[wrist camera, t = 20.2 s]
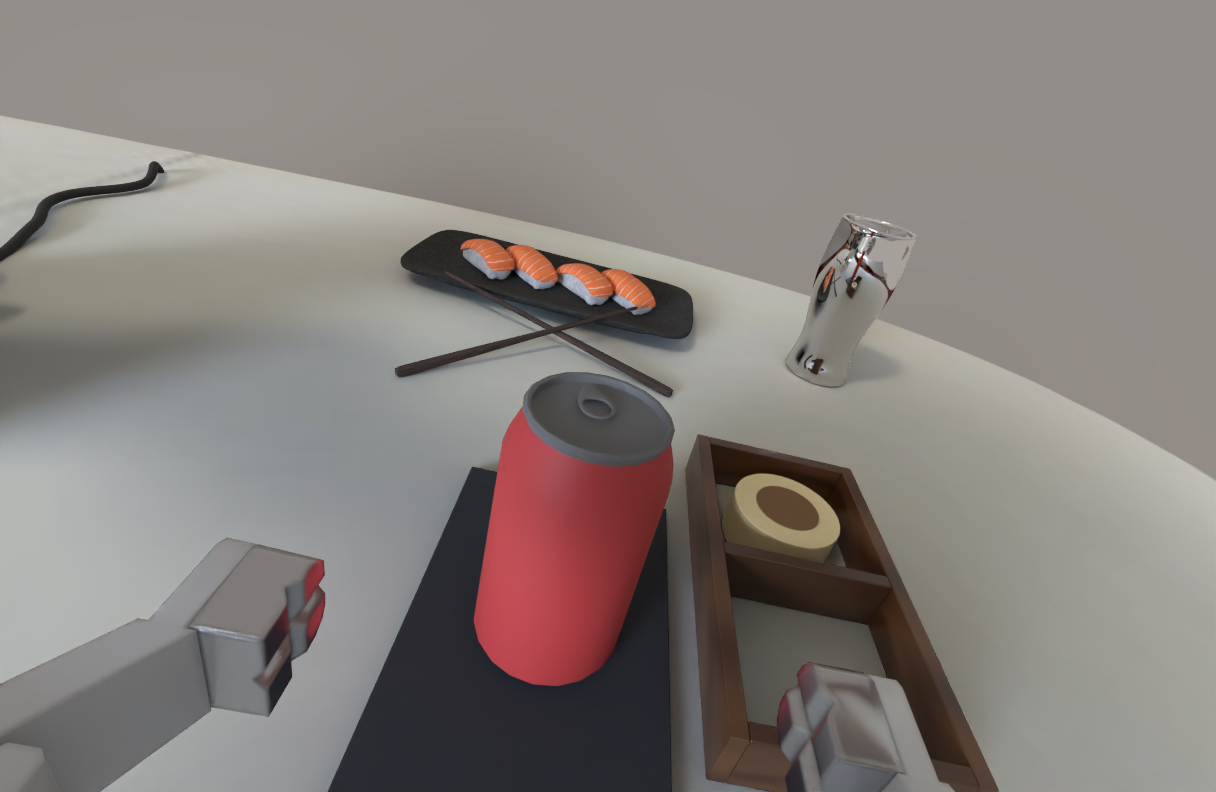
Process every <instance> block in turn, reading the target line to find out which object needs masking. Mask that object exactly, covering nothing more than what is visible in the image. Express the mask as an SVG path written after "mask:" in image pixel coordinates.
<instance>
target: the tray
mask: <svg viewBox="0 0 1216 792" xmlns="http://www.w3.org/2000/svg"><path fill="white" fill-rule="evenodd" d="M685 471H686V486H687V500H688V515H689V530H690V545H691V559H692V574H693V589H694V603H695V618H696V633H697V648H698V662H699V677H700V692H701V706H702V721H703V736H704V751H705V765H706V778H707V779H709V780H714V781H719V782H727V783H730V784H735V785H740V786H745V787H750V788H755V789H760V790H765V791H770V792H788V791H787V786H786V780H785V775H786V773H787V771H788V769H789V768H790V766H791V763H790V761H789V760H788V759H787V757H786V756H785V755H784V753H783V752H782V750H781V749H780V746H779V740H778V733H777V727H772V726H767V725H762V724H757V723H752V722H747V715H746V707H745V700H744V692H743V685H742V678H741V670H740V663H739V655H738V648H737V641H736V633H735V626H734V618H733V611H732V604H731V596H730V595H732V596H736V597H741V598H746V599H750V600H755V601H760V602H764V603H769V604H774V605H778V606H783V607H788V608H792V609H797V610H802V611H806V612H811V613H816V614H820V615H825V616H830V617H834V618H839V619H844V620H848V621H853V622H858V623H862V624H868V625H869V628H870V631H871V633H872V636H873V639H874V642H875V644H876V647H877V650H878V652H879V655H880V658H881V661H882V663H883V666H884V669H885V671H886V674H887V677H888V679H893V680H897V682H898V683H899V684H900V685H901V686H902V688H903V690H904V693H905V695H906V698H907V700H908V703H909V706H910V708H911V711H912V713H913V716H914V718H915V721H916V724H917V726H918V729H919V731H920V734H921V736H922V739H923V741H924V744H925V747H926V749H927V752H928V754H929V757H930V759H931V762H932V764H933V767H934V770H935V772H936V775H937V777H938V780H939V782H943V783H947V784H949V785H950V786H951V788H952V789H953V790H954V791H955V792H999V790H998V787H997V785H996V783H995V781H994V779H993V777H992V775H991V772H990V770H989V768H988V766H987V764H986V762H985V759H984V757H983V755H982V753H981V751H980V749H979V746H978V744H977V742H976V740H975V738H974V736H973V733H972V731H971V729H970V727H969V725H968V723H967V720H966V718H965V716H964V714H963V712H962V710H961V707H960V705H959V703H958V701H957V699H956V697H955V694H954V692H953V690H952V688H951V686H950V684H949V682H948V679H947V677H946V675H945V673H944V671H943V669H942V666H941V664H940V662H939V660H938V658H937V656H936V653H935V651H934V649H933V647H932V645H931V643H930V640H929V638H928V636H927V634H926V632H925V630H924V627H923V625H922V623H921V621H920V619H919V617H918V614H917V612H916V610H915V608H914V606H913V604H912V602H911V599H910V597H909V595H908V593H907V591H906V589H905V586H904V584H903V582H902V580H901V578H900V576H899V573H898V571H897V569H896V567H895V565H894V563H893V560H892V558H891V556H890V554H889V552H888V550H887V547H886V545H885V543H884V541H883V539H882V537H881V534H880V532H879V530H878V528H877V526H876V524H875V522H874V519H873V517H872V515H871V513H870V511H869V509H868V506H867V504H866V502H865V500H864V498H863V496H862V493H861V491H860V489H859V487H858V485H857V483H856V480H855V478H854V476H853V474H852V472H851V470H850V469H848V468H844V467H839V466H835V465H831V464H826V463H822V462H818V461H813V460H809V459H804V458H800V457H796V456H791V455H787V454H782V453H778V452H773V451H769V450H765V449H760V448H756V447H751V446H747V445H743V444H738V443H734V442H729V441H725V440H721V439H716V438H712V437H710V438H709V437H708V436H703V435H699V434H698V435H697V438H696V441H695V443H694V446H693V449H692V452H691V455H690V457H689V460H688V463H687V466H686V469H685ZM753 474H773V475H778V476H782V477H785V478H788V479H791V480H794V481H796V482H798V483H800V484H802V485H804V486H806V487H808V488H809V489H811V490H812V491H814V492H815V493H817V494H818V495H819V496H820V497H822V498H823V499H824V500H825V501H826V502H827V503H828V504H829V505H830V507H831V508H832V509H833V511H834V512H835V514H836V515H837V518H838V520H839V523H840V535H839V537H838V539H837V541H838V544H839V547H840V549H841V552H842V555H843V557H844V560H845V563H846V566H847V568H845V567H840V566H835V565H831V564H826V563H822V562H817V561H813V560H808V559H803V558H799V557H794V556H790V555H785V554H781V553H776V552H771V551H767V550H762V549H758V548H753V547H748V546H744V545H739V544H735V543H730V542H726V541H725V542H723V537H722V529H721V522H720V515H719V507H718V500H717V492H716V485H715V482H716V483H721V484H725V485H730V486H734V487H736V485H737V484H738V482H739V481H740V480H741V479H743V478H744V477H746V476H749V475H753Z"/></svg>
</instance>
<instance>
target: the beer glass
mask: <svg viewBox="0 0 1216 792" xmlns="http://www.w3.org/2000/svg"><path fill="white" fill-rule="evenodd" d="M916 239H917V236H916V235H915V234H913V233H911V232H910V231H908V230H906V229H904V228H901V227H899V226H896V225H894V224H891V223H888V222H885V221H882V220H878V219H875V218H871V217H867V216H863V215H858V214H850V213H849V214H848V213H846V214H843V216H842V218H841V220H840V223H839V224H838V227H837V228H836V230H835V232H834V234H833V236H832V238H831V240H830V242H829V244H828V246H827V249H826V251H825V253H824V255H823V258H822V260H821V263H820V266H819V268H818V271H817V275H816V278H815V282H814V285H813V290H812V294H811V298H810V303H809V308H808V312H807V316H806V320H805V324H804V327H803V329H802V332H801V334H800V336H799V338H798V340H797V342H796V343H795V345H794V346H793V348H792V349H791V351H790V352H789V354H788V355H787V357H786V359H785V363H786V366H787V367H788V368H789V370H790V371H792V372H793V373H794V374H796V375H797V376H799V377H801V378H802V379H804V380H807V381H809V382H812V383H815V384H818V385H822V386H827V387H837V386H841V385H842V384H843V383H844V382H845V380H846V376H847V373H848V369H849V365H850V361H851V358H852V356H853V353H854V351H855V349H856V347H857V345H858V344H859V342H860V340H861V339H862V337H863V336H864V335H865V333H866V332H867V330H868V329H869V328H870V326H871V325H872V323H873V322H874V321H875V319H876V318H877V316H878V315H879V314H880V312H881V311H882V309H883V308H884V306H885V305H886V303H887V302H888V300H889V299H890V297H891V295H892V293H893V291H894V289H895V287H896V286H897V284H898V282H899V280H900V277H901V275H902V273H903V271H904V268H905V265H906V263H907V260H908V258H909V256H910V253H911V250H912V248H913V245H914V243H915V240H916Z"/></svg>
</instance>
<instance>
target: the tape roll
mask: <svg viewBox="0 0 1216 792" xmlns="http://www.w3.org/2000/svg"><path fill="white" fill-rule="evenodd" d="M722 531H723V534H724V537H725V539H726V541H727V542H730V543H735V544H739V545H744V546H748V547H753V548H758V549H762V550H767V551H771V552H776V553H781V554H785V555H790V556H794V557H799V558H803V559H808V560H813V561H817V562H822V563H824V562H825V560H826V559H827V557H828V555H829V553H830V551H831V550H832V548H833V546H834V544H835V543H836V541H837V539H838V537H839V535H840V523H839V520H838V518H837V515H836V514H835V512H834V511H833V509H832V508H831V507H830V505H829V504H828V503H827V502H826V501H825V500H824V499H823V498H822V497H820V496H819V495H818V494H817V493H815V492H814V491H812V490H811V489H809V488H808V487H806V486H804V485H802V484H800V483H798V482H796V481H794V480H791V479H788V478H785V477H782V476H778V475H773V474H753V475H749V476H746V477H744V478H743V479H741V480H740V481H739V482H738V484H737V485H736V487H735V490H734V492H733V495H732V497H731V499H730V502H729V504H728V506H727V509H726V511H725V514H724V516H723V519H722Z"/></svg>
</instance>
